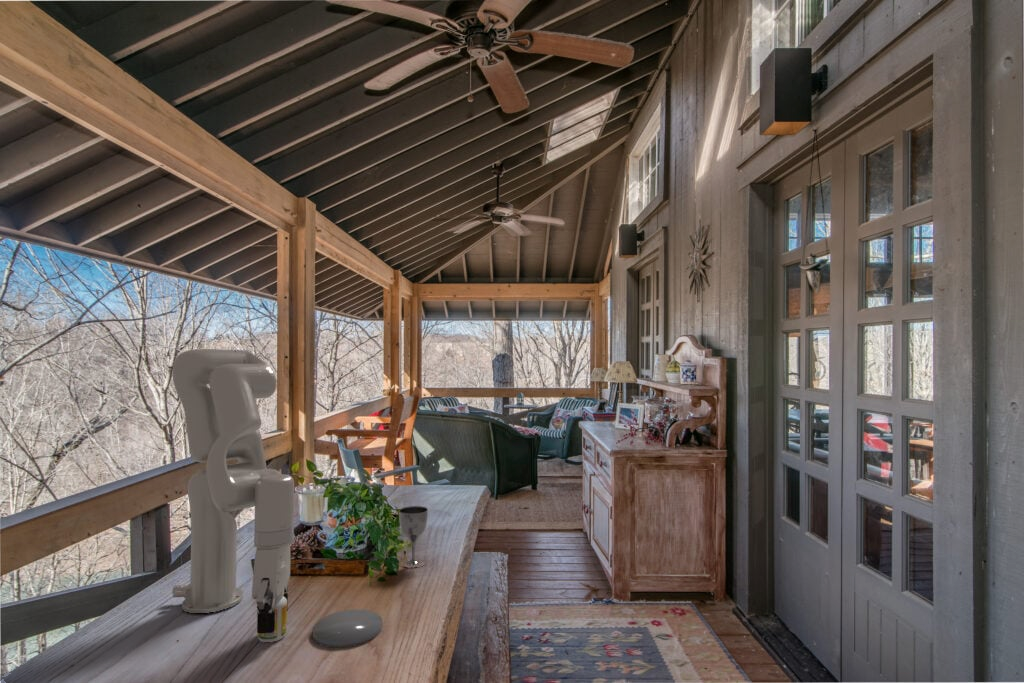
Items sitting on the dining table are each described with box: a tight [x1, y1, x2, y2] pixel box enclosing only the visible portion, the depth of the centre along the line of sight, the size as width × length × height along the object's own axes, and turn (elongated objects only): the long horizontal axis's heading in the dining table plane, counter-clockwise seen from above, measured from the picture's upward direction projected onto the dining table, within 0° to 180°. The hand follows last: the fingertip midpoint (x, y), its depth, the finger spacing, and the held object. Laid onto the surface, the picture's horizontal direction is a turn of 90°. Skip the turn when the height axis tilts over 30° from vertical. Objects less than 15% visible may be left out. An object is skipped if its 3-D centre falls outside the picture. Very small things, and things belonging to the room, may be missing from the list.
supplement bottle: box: [257, 589, 288, 643], centre depth 112 cm, size 5×5×10 cm
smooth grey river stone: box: [312, 608, 383, 649], centre depth 115 cm, size 14×14×1 cm
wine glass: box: [398, 505, 429, 565], centre depth 153 cm, size 8×8×15 cm
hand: (272, 621), depth 112 cm, fingers open, 7 cm apart
